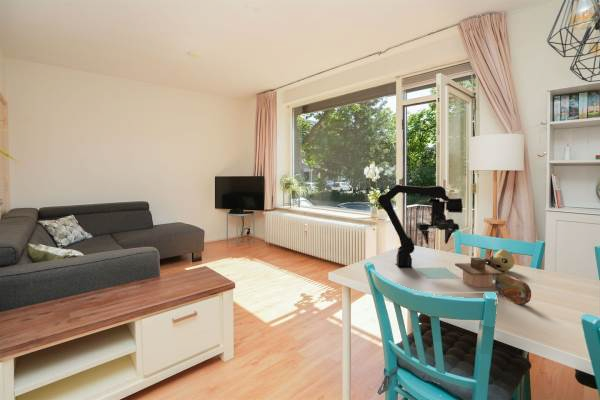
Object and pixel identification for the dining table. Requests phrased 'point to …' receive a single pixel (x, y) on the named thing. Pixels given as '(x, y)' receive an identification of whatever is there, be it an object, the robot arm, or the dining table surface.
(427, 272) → the teal mat
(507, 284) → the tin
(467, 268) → the walnut lid
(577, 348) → the dining table surface
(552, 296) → the dining table surface
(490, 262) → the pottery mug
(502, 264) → the yellow rounded lump
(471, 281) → the terracotta bowl
